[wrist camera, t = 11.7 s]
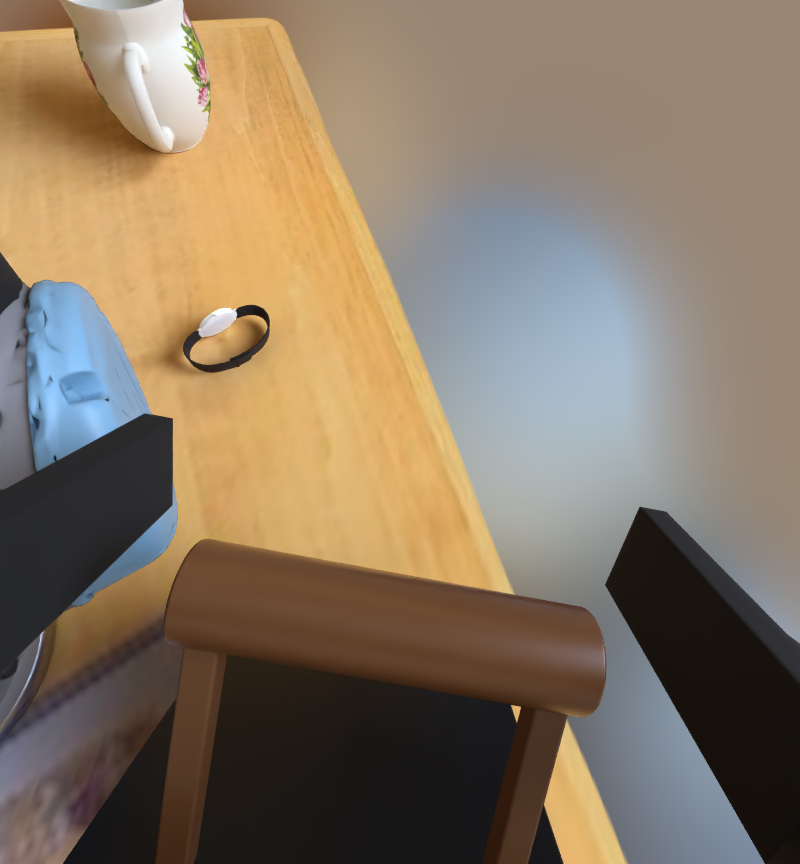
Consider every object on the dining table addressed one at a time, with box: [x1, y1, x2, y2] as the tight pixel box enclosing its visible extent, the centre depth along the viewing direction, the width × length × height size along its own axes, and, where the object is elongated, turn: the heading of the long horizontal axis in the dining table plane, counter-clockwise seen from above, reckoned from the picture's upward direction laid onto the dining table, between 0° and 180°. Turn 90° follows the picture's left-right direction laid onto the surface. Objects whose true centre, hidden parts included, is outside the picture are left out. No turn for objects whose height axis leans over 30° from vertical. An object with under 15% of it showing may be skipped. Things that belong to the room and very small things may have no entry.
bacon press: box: [63, 539, 606, 864], centre depth 14 cm, size 15×12×8 cm
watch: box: [183, 305, 270, 372], centre depth 38 cm, size 8×5×4 cm, turn 131°
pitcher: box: [59, 0, 211, 153], centre depth 43 cm, size 11×18×14 cm, turn 14°
